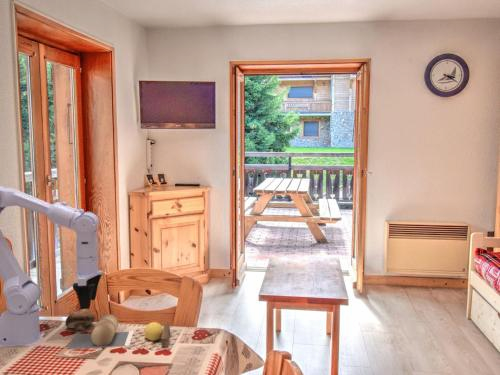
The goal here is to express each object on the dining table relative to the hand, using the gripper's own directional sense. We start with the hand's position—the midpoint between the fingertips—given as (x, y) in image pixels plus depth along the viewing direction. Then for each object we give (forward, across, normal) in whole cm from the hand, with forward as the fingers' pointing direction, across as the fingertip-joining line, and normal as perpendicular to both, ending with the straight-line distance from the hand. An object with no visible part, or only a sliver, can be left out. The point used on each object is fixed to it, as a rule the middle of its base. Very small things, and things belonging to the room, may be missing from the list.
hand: (88, 304), depth 127 cm
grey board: (+10, -3, -4) cm, 11 cm away
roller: (+10, -3, -5) cm, 11 cm away
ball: (+9, -3, -20) cm, 22 cm away
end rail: (+10, -3, -22) cm, 24 cm away
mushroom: (+10, +7, +4) cm, 13 cm away
